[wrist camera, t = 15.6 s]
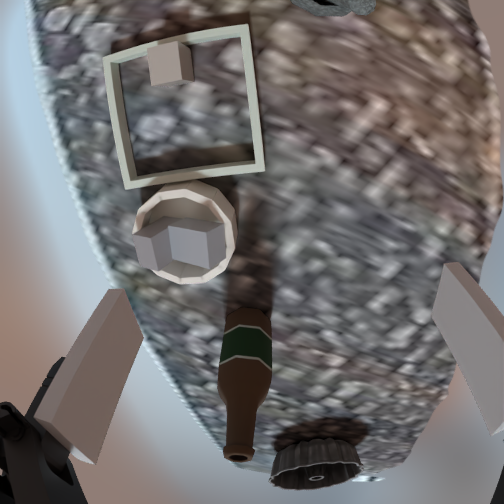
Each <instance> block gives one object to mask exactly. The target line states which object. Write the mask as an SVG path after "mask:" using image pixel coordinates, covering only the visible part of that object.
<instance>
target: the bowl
mask: <svg viewBox="0 0 504 504" xmlns="http://www.w3.org/2000/svg"><path fill="white" fill-rule="evenodd" d="M163 216H167V217H174V218H182V219H184V218H186V217H187V218H193V219H199V220H206V221H212V222H218V223H224V232H225V247H226V259H224V260H223V261H221V262H220V263H218V264H217V265H215V266H214V267H212V268H211V269H207V268H203V267H199V266H196V265H192V264H189V263H185V262H181V261H178V260H173V261H172V262H171V263H169V264H168V265H167V266H165V267H164V268H163V269H161V270H160V271H155V270H152V269H151V270H152V271H153V272H154V273H155V274H157V275H158V276H161V277H163V278H166V279H168V280H170V281H173V282H175V283H178V284H195V283H205V282H207V281H209V280H210V279H212V278H213V277H215V276H217V275H218V274H220V273H221V272H223V271H225V269H226V267H227V265H228V263H229V260H230V258H231V256H232V254H233V252H234V250H235V246H236V241H237V235H238V230H237V223H236V215H235V209H234V208H233V206H232V205H231V204H230V203H229V201H228V200H227V199H226V198H225V196H224V195H223V194H222V193H221V192H220V190H219V189H218V188H215V187H213V186H210V185H208V184H205V183H203V182H201V181H198V180H196V179H191V180H184V181H177V182H170V183H167V184H166V185H164V186H163V187H162V188H161V189H160V190H158V191H157V192H156V193H155V194H154V195H153V196H152V197H150V198H149V199H148V200H147V201H146V202H145V203H144V204H143V205H142V206H141V207H140V208H139V209H138V213H137V216H136V220H135V224H134V228H133V232H132V234H134V233H135V232H137V231H139V230H140V229H142V228H144V227H146V226H147V225H149V224H151V223H153V222H154V221H156V220H158V219H160V218H161V217H163Z"/></svg>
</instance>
